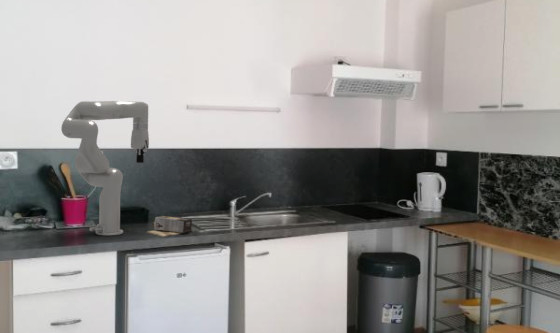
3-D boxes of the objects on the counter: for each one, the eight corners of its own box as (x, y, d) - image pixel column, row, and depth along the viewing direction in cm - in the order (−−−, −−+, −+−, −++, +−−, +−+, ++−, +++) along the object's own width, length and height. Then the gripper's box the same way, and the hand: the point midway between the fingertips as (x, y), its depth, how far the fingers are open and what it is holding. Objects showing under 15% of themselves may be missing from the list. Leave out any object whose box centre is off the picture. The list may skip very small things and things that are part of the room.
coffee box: (163, 215, 270) (192, 218, 266) (162, 227, 270) (191, 231, 266) (154, 217, 261) (185, 220, 257) (153, 229, 261) (184, 233, 257)
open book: (162, 236, 251) (162, 235, 251) (146, 232, 259) (146, 231, 259) (181, 233, 259) (181, 232, 259) (165, 229, 268) (165, 228, 267)
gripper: (125, 126, 275) (125, 161, 276) (142, 127, 265) (142, 163, 266) (138, 126, 280) (137, 161, 282) (155, 127, 271) (154, 163, 272)
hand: (140, 162), depth 274 cm, fingers closed
